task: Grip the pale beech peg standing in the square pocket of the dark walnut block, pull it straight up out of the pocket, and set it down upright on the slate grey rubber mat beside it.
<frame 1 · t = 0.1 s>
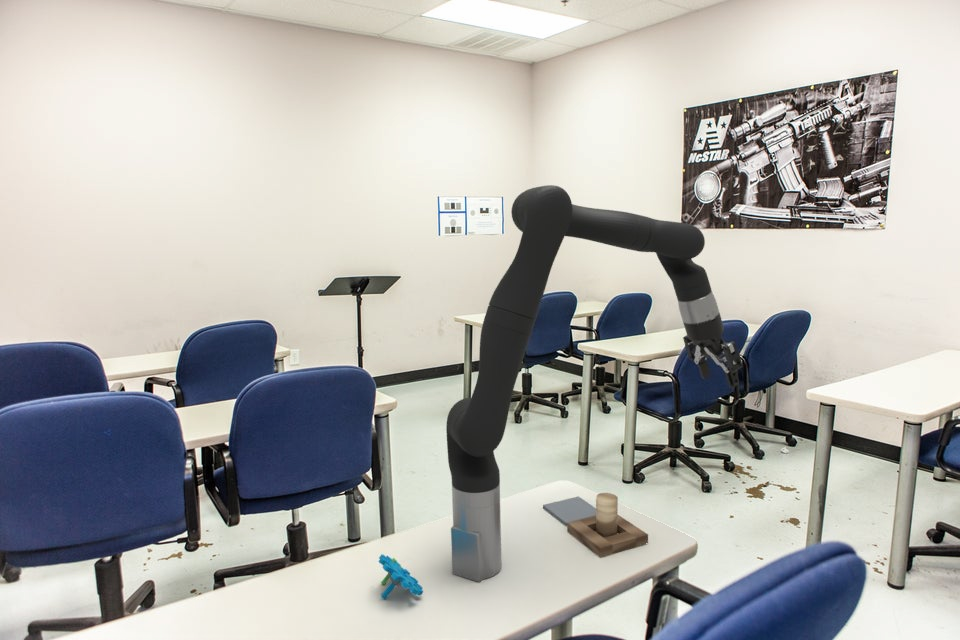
hand: (720, 381, 131), 31 cm above the table, tool tilted 20°, fingers open, 8 cm apart
mat: (572, 512, 139), on the table
pocket block: (606, 537, 127), on the table
blue branched plastic piece: (400, 593, 110), on the table
peg: (606, 517, 127), in the pocket block
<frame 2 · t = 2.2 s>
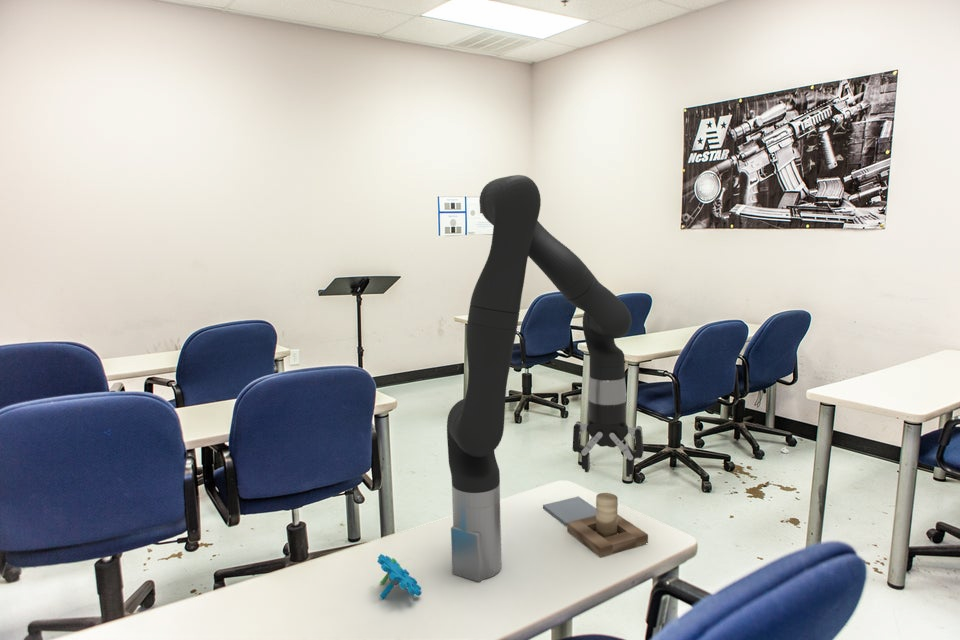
hand: (607, 473, 125), 14 cm above the table, tool pointing down, fingers open, 8 cm apart
nothing on the table moved.
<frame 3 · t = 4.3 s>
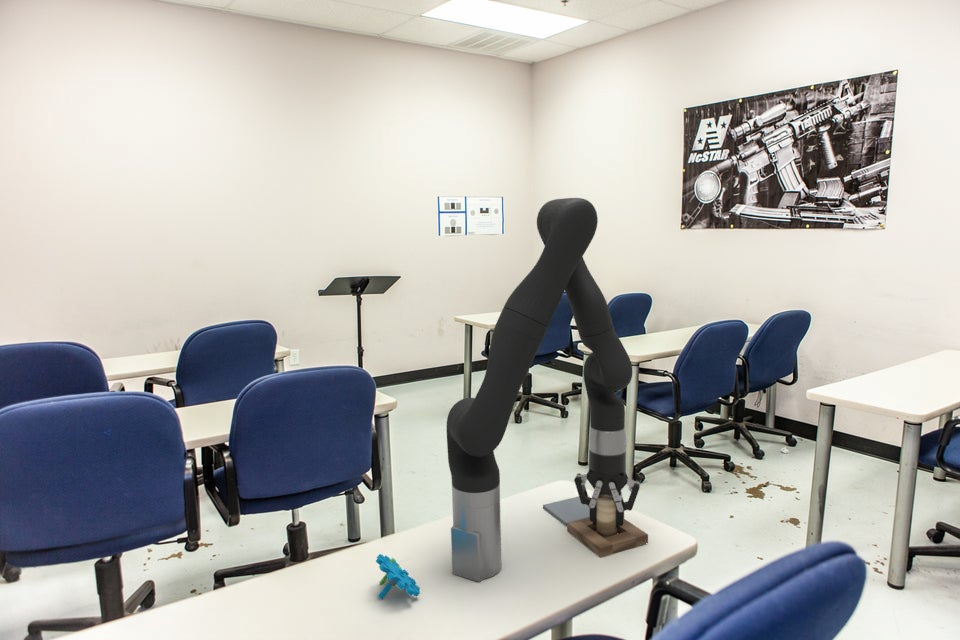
hand: (606, 524, 127), 3 cm above the table, tool pointing down, fingers closed on peg, 4 cm apart
peg: (606, 517, 127), in the pocket block, touching gripper
everything else where it was.
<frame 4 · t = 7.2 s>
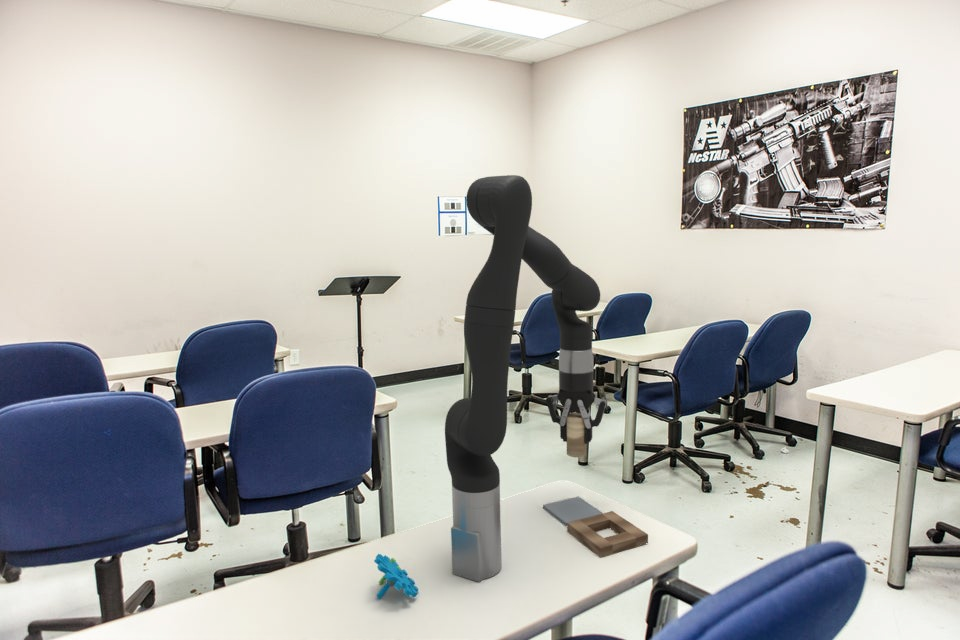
hand: (576, 441, 136), 17 cm above the table, tool pointing down, fingers closed on peg, 4 cm apart
peg: (576, 434, 135), point 19 cm above the table, touching gripper
everything else where it was.
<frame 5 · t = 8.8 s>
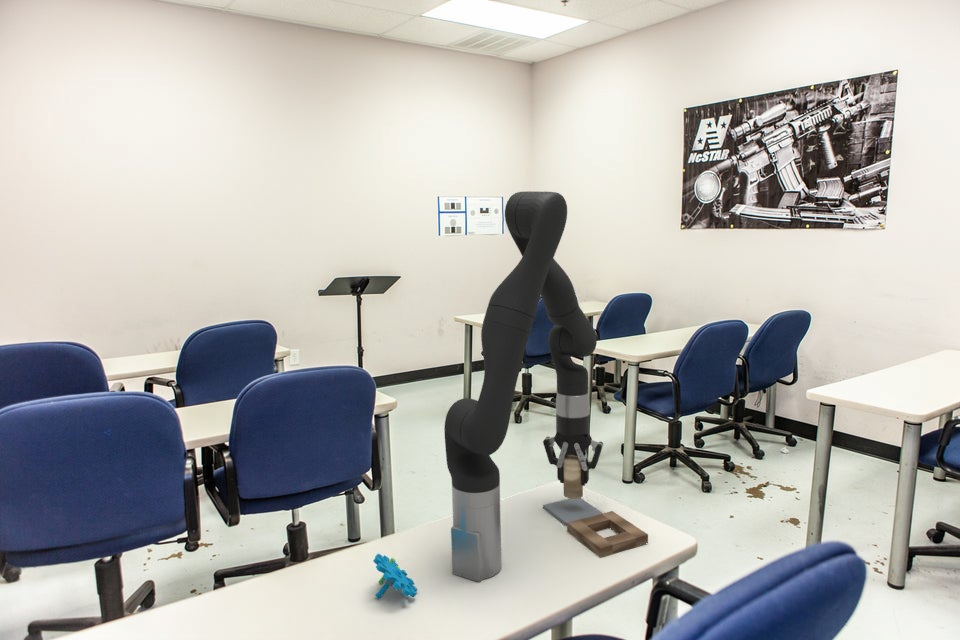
hand: (573, 482, 138), 7 cm above the table, tool pointing down, fingers closed on peg, 4 cm apart
peg: (573, 476, 138), point 9 cm above the table, touching gripper
everything else where it was.
when the fingers open (5 cm above the table, at t = 10.1 s): peg stays where it is, resting on mat.
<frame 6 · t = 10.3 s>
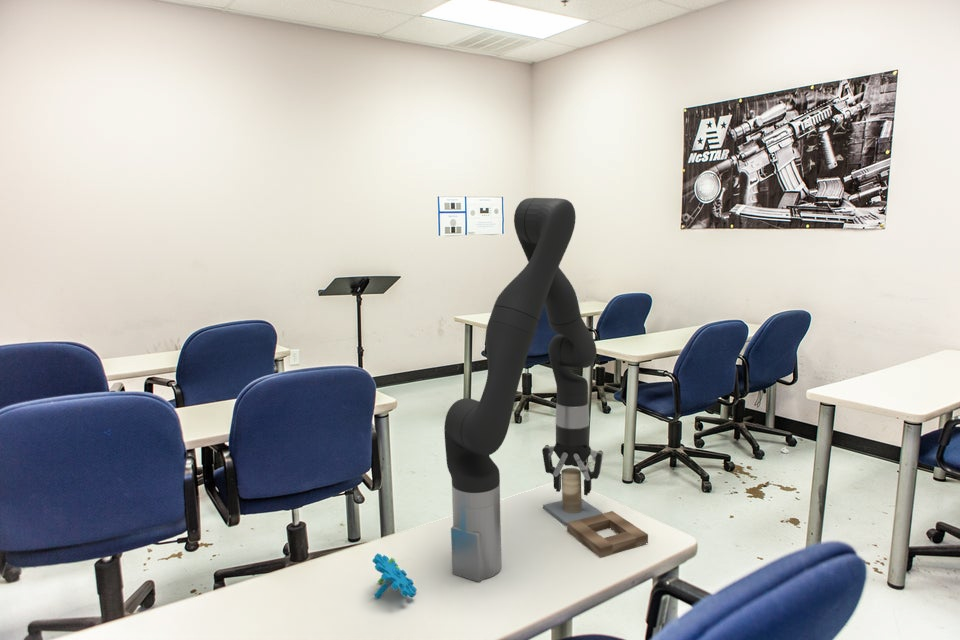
hand: (572, 492, 138), 5 cm above the table, tool pointing down, fingers open, 6 cm apart
peg: (571, 490, 138), on the mat, point 5 cm above the table
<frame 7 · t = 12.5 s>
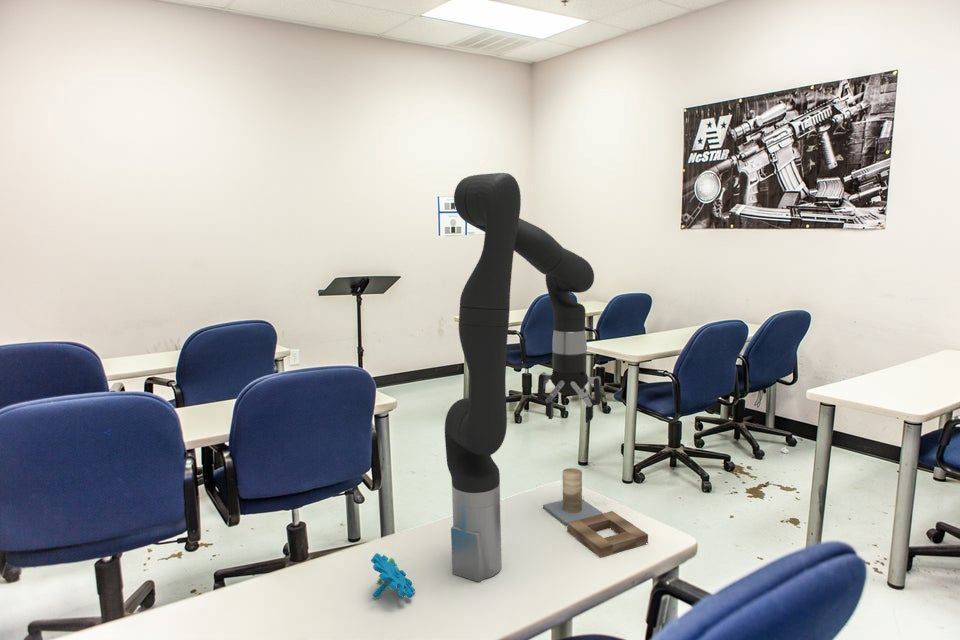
hand: (569, 420, 136), 22 cm above the table, tool pointing down, fingers open, 8 cm apart
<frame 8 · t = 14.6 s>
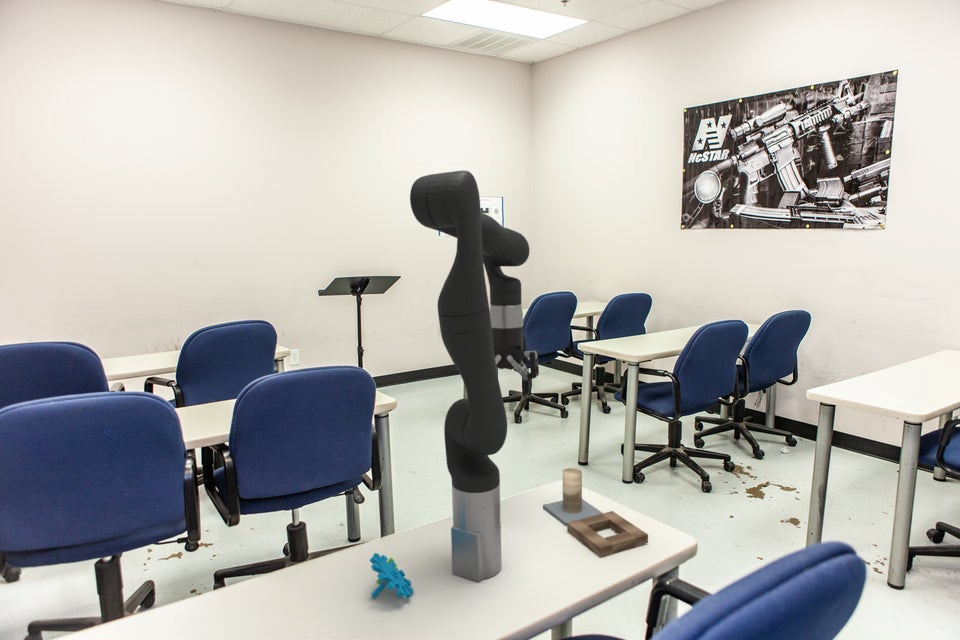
hand: (507, 394, 137), 28 cm above the table, tool pointing down, fingers open, 8 cm apart
at the end: peg 0.1 cm off-centre on the mat, point 5.3 cm above the mat's base; peg tilted 0°; the gripper is holding nothing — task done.
